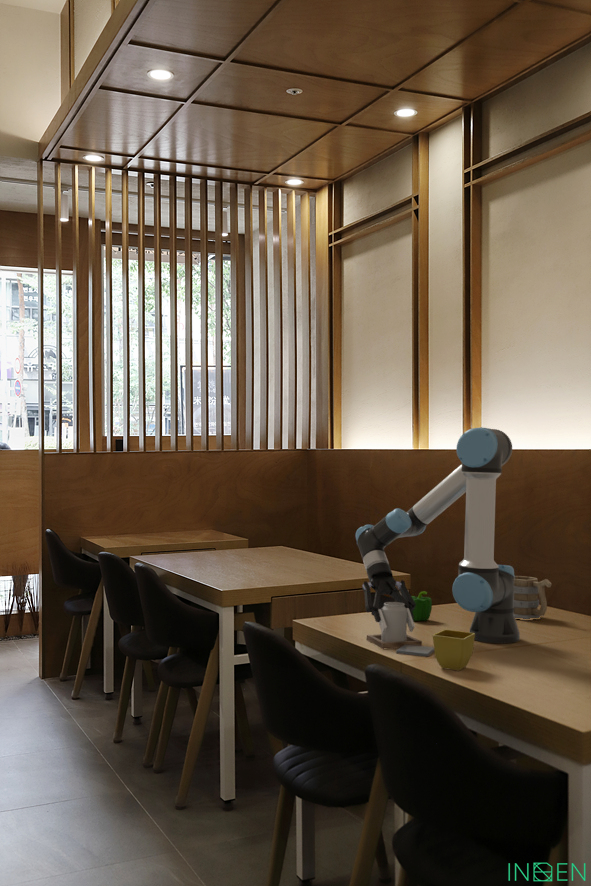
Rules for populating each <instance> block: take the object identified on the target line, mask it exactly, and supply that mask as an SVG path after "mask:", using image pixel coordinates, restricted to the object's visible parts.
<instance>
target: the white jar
mask: <svg viewBox="0 0 591 886" xmlns="http://www.w3.org/2000/svg"><path fill="white" fill-rule="evenodd" d="M404 605H405V604H404V603H400V602H397V601H386V602H384V603H383V606H382V607H381V611H382V614H383V617H384V620H385V623H386V626H387V629H386V631H385V633H382V631H381V630H380V631H381V632H380V633H381V641H383V642H403V641H406V634H407V627H408V625H407V609H406V608H405V606H404Z"/></svg>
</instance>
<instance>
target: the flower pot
mask: <svg viewBox="0 0 591 886" xmlns="http://www.w3.org/2000/svg"><path fill="white" fill-rule="evenodd" d="M474 638H475V633H470V631H467V632H466V631H461V630H455V629H454V630H453V629H443V630H440V631H439V632H436V633H433V635H432V642H433V647H434V652H433V653H434V656H435V658H436V661H437V663H438V664H439V666H440V668H442V669H444V668H445V670H447V669H448V670H453V671H457V670H458V672H459V671H461V670H463V669H464V668H466V667H467V665H468V664H469V662H470V661H471V659H472V656H473V655H472V654H473V651H474V646H475V644H474V643H475V640H474Z"/></svg>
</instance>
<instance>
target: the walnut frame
mask: <svg viewBox="0 0 591 886" xmlns="http://www.w3.org/2000/svg"><path fill="white" fill-rule="evenodd" d="M366 641H368V642H370V643H371V644H373V645H375V646H377V647H379V648H380V649H382V648H383V649H384V648H387V649H399V648H400V647H402V646H403V645H417V646H423V641H421V640H419V639H418V638H415V637H414V636H412V635H409V634H407V633H406V641H403V642H383V641H382V640H381V634H380V633H379V634H366ZM383 649H382V650H383Z"/></svg>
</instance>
